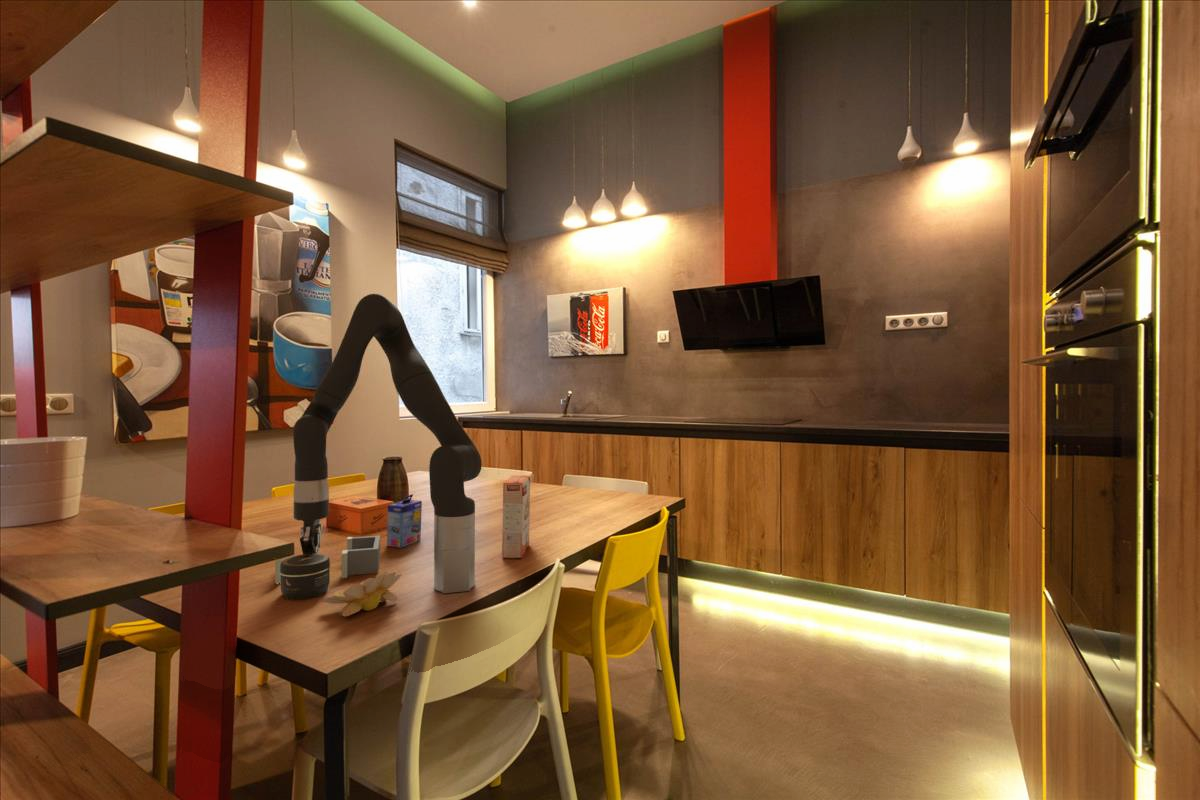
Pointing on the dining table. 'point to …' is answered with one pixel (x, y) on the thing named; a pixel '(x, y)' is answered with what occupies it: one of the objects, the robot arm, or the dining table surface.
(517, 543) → the cracker box
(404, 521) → the ink cartridge box
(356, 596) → the decorative flower
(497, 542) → the dining table surface
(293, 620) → the dining table surface
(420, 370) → the robot arm
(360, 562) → the channel
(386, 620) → the dining table surface
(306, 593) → the jar
